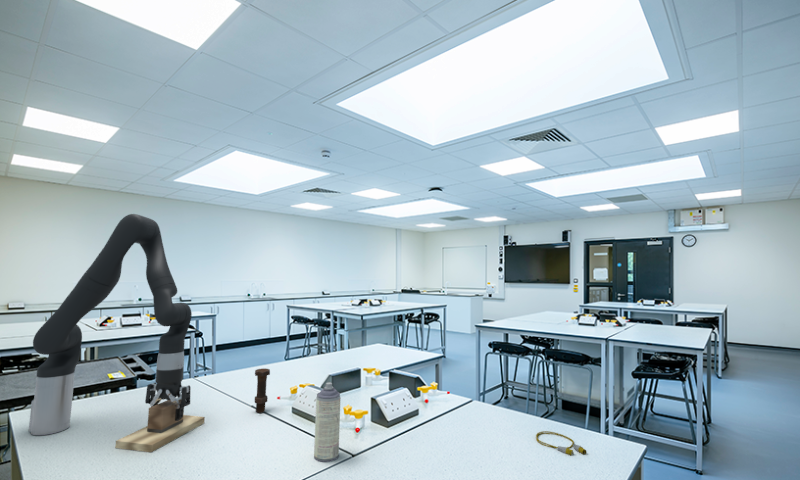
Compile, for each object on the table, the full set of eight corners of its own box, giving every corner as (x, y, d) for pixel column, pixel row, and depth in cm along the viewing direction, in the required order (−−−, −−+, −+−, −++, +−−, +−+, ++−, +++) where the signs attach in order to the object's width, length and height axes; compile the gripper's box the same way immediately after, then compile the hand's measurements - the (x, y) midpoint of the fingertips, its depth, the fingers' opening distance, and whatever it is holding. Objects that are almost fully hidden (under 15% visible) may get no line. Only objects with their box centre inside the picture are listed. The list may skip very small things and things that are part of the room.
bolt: (257, 415, 138) (259, 372, 139) (249, 412, 141) (251, 370, 142) (271, 411, 142) (273, 369, 144) (263, 408, 145) (265, 367, 147)
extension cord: (545, 456, 113) (545, 448, 113) (531, 434, 128) (531, 427, 128) (588, 458, 112) (588, 451, 112) (568, 435, 127) (568, 429, 128)
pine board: (115, 448, 111) (115, 440, 111) (173, 419, 132) (173, 413, 133) (151, 452, 109) (151, 444, 109) (204, 423, 130) (204, 416, 130)
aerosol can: (339, 450, 112) (341, 379, 114) (337, 461, 106) (340, 386, 107) (315, 450, 112) (318, 380, 113) (312, 462, 105) (315, 386, 107)
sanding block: (147, 431, 118) (148, 407, 118) (169, 420, 126) (171, 398, 127) (161, 433, 117) (163, 409, 117) (183, 422, 126) (184, 399, 126)
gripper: (141, 367, 121) (137, 421, 119) (181, 370, 118) (177, 425, 117) (160, 362, 128) (156, 412, 127) (198, 365, 126) (194, 416, 124)
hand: (166, 418), depth 122 cm, fingers open, 8 cm apart
